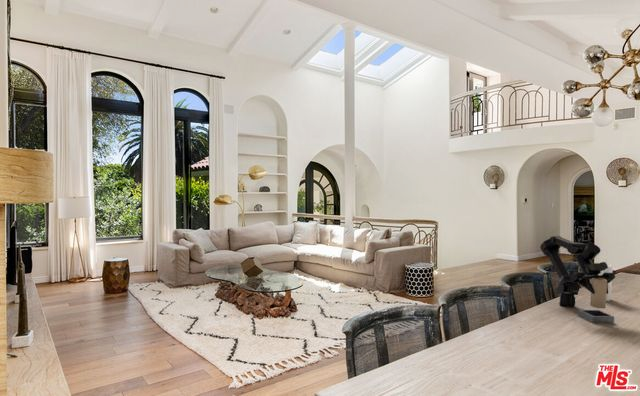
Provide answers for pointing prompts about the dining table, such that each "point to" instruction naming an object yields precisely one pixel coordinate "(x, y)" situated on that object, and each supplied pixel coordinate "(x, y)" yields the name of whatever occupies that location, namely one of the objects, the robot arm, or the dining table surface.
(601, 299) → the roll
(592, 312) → the tray
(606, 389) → the dining table surface
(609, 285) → the milk
